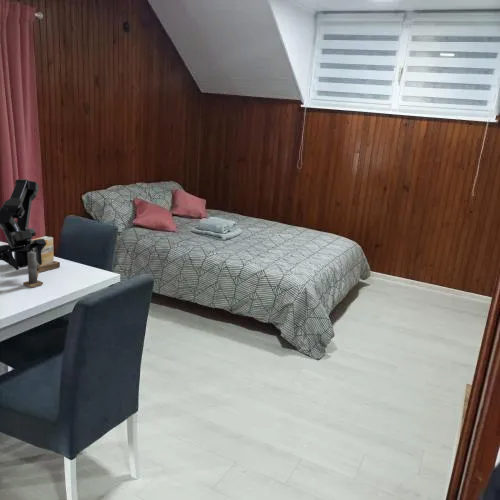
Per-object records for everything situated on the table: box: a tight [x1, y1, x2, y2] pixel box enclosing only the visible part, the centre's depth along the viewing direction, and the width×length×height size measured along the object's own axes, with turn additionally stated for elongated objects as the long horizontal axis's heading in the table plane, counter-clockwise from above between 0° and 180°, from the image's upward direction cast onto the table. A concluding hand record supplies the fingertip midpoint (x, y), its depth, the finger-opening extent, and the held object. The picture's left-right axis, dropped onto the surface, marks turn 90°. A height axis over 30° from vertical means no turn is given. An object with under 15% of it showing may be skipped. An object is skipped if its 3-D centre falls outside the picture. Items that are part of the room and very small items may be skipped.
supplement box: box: [31, 235, 55, 267], centre depth 200 cm, size 8×5×13 cm, turn 161°
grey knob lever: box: [22, 252, 61, 288], centre depth 191 cm, size 16×22×13 cm
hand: (29, 266), depth 181 cm, fingers open, 9 cm apart
